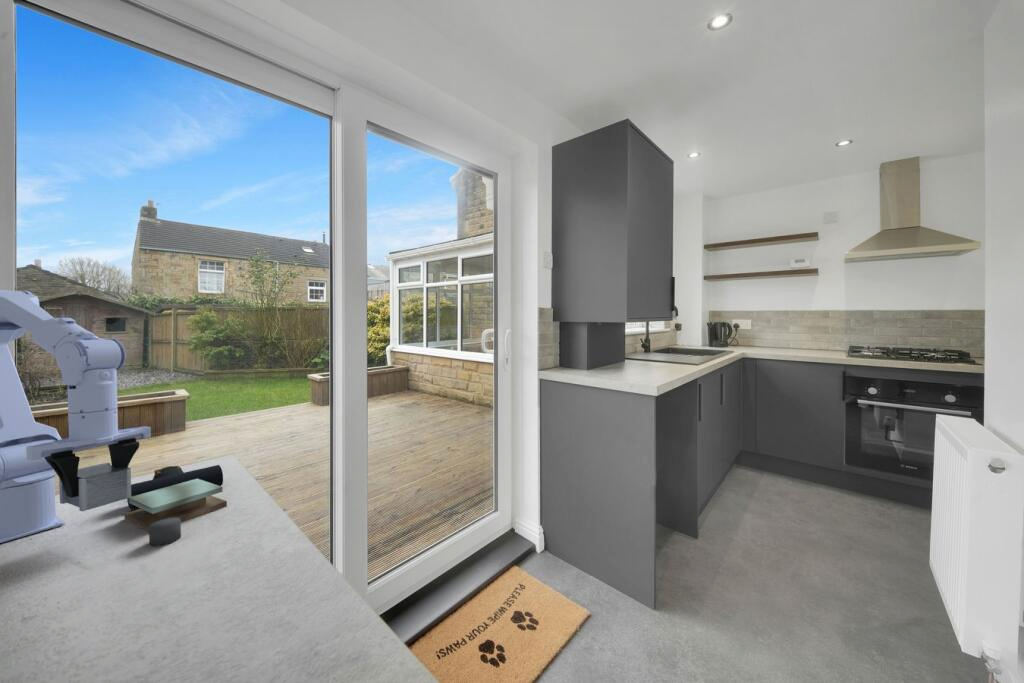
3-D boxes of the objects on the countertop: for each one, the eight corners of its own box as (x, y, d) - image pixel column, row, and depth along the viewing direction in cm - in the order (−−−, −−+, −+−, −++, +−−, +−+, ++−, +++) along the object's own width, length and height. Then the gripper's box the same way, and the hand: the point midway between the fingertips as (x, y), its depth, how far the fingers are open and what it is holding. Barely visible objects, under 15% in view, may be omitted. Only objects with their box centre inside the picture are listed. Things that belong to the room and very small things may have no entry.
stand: (150, 532, 69) (150, 509, 69) (124, 519, 74) (124, 498, 74) (226, 506, 79) (226, 486, 79) (199, 495, 85) (198, 477, 84)
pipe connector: (120, 474, 84) (206, 456, 96) (120, 498, 84) (206, 478, 96) (132, 487, 77) (223, 466, 89) (132, 514, 77) (223, 489, 89)
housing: (131, 497, 68) (130, 468, 68) (82, 511, 62) (81, 480, 62) (108, 489, 71) (107, 462, 71) (59, 503, 65) (59, 473, 65)
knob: (155, 549, 64) (155, 531, 63) (144, 543, 65) (144, 525, 65) (185, 538, 67) (185, 520, 67) (174, 532, 69) (174, 515, 69)
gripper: (39, 420, 58) (41, 511, 58) (159, 404, 71) (160, 478, 72) (19, 417, 61) (22, 503, 61) (138, 402, 74) (140, 473, 74)
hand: (95, 489), depth 67 cm, fingers closed on housing, 5 cm apart
